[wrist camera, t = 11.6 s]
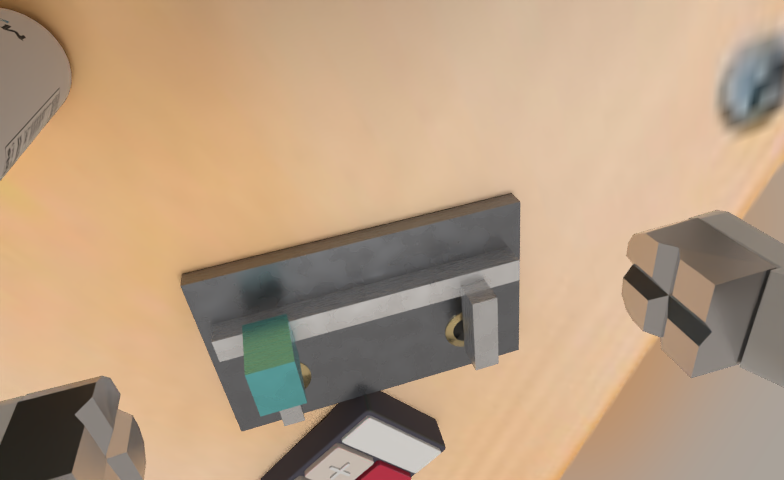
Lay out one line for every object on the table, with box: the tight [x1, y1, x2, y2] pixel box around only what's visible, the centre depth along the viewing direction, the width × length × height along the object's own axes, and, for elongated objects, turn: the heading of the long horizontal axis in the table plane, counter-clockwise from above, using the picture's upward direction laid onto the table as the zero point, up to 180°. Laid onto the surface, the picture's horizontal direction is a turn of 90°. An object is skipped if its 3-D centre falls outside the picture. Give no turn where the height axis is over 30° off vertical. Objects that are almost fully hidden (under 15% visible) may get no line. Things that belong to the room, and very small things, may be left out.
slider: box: [242, 314, 307, 426], centre depth 40 cm, size 3×9×7 cm, turn 7°
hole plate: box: [181, 193, 520, 431], centre depth 43 cm, size 26×16×6 cm, turn 97°
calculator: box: [261, 391, 445, 480], centre depth 53 cm, size 11×4×15 cm
